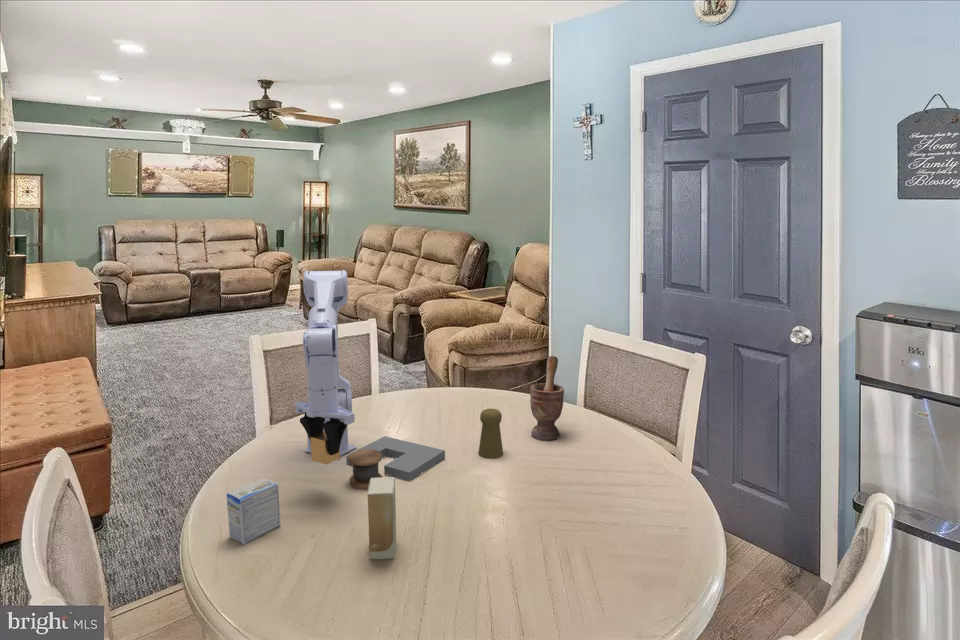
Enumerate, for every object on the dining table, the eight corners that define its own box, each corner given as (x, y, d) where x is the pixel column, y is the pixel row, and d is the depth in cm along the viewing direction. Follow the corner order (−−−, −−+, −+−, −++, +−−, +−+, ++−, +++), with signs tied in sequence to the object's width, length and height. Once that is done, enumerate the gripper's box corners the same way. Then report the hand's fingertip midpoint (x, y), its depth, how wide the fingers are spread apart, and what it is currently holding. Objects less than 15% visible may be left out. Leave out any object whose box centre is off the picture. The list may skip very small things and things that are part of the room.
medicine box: (266, 519, 114) (263, 476, 113) (281, 526, 112) (278, 483, 110) (229, 537, 108) (225, 492, 106) (244, 545, 106) (240, 499, 104)
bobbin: (342, 484, 129) (341, 458, 128) (364, 472, 135) (363, 446, 134) (368, 491, 126) (367, 464, 124) (389, 479, 132) (388, 453, 130)
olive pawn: (501, 459, 142) (501, 415, 140) (475, 457, 143) (476, 413, 141) (505, 449, 148) (505, 407, 146) (480, 447, 149) (481, 405, 147)
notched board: (346, 463, 139) (346, 455, 139) (385, 443, 151) (384, 436, 151) (409, 481, 131) (409, 472, 130) (444, 458, 143) (444, 450, 142)
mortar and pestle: (526, 425, 164) (527, 354, 161) (558, 425, 165) (560, 354, 161) (531, 441, 153) (532, 365, 149) (565, 441, 153) (567, 365, 150)
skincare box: (372, 540, 107) (370, 476, 105) (396, 539, 108) (395, 475, 105) (368, 561, 101) (366, 493, 99) (394, 560, 101) (393, 492, 99)
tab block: (311, 460, 122) (310, 437, 121) (325, 453, 126) (324, 430, 125) (326, 464, 120) (325, 440, 119) (340, 457, 124) (339, 434, 123)
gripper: (281, 386, 120) (285, 450, 123) (335, 398, 113) (338, 465, 116) (308, 378, 126) (311, 439, 129) (360, 388, 119) (363, 453, 122)
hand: (325, 451), depth 123 cm, fingers closed on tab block, 4 cm apart
